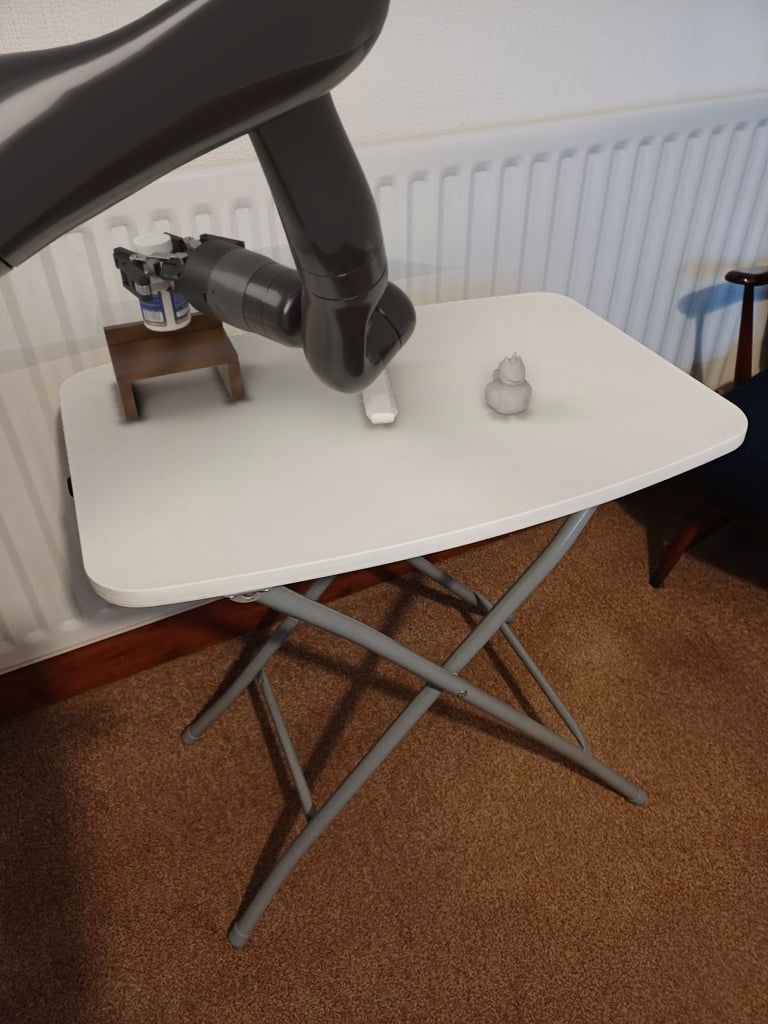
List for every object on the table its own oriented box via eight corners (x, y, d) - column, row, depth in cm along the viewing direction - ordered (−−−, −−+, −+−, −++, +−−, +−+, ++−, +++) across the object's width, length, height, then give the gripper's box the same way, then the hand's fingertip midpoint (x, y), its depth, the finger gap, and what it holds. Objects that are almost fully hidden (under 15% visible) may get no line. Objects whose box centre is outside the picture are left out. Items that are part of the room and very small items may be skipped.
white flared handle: (358, 442, 88) (357, 412, 86) (351, 365, 102) (350, 337, 100) (407, 440, 88) (407, 410, 86) (393, 364, 102) (393, 336, 100)
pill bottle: (185, 309, 93) (170, 227, 87) (197, 327, 90) (182, 242, 84) (139, 318, 92) (121, 235, 86) (150, 336, 88) (131, 250, 82)
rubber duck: (494, 425, 91) (500, 363, 86) (475, 397, 96) (479, 336, 91) (537, 418, 92) (546, 357, 87) (516, 391, 97) (523, 331, 92)
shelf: (126, 421, 92) (111, 360, 87) (117, 386, 98) (102, 326, 93) (244, 398, 96) (236, 338, 91) (227, 365, 102) (219, 308, 97)
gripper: (289, 230, 80) (187, 198, 89) (174, 272, 72) (73, 232, 80) (295, 300, 85) (197, 263, 93) (188, 347, 76) (91, 301, 85)
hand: (140, 249), depth 87 cm, fingers closed on pill bottle, 5 cm apart
